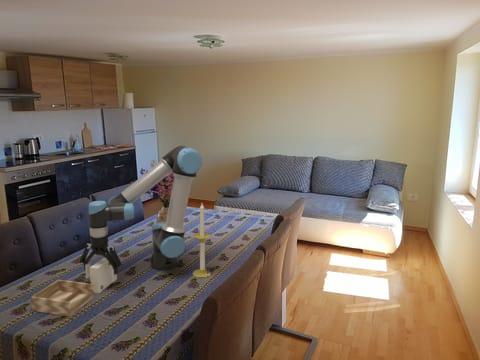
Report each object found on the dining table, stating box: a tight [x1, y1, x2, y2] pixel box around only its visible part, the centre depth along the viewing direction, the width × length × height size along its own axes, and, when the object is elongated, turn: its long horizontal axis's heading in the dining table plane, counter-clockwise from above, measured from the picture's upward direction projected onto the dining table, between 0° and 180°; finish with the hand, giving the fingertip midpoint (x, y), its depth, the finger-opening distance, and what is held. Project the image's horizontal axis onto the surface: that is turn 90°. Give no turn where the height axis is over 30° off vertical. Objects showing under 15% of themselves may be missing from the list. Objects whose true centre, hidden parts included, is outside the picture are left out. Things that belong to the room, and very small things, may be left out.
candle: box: [192, 203, 211, 278], centre depth 182 cm, size 10×10×38 cm
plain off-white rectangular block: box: [89, 257, 114, 294], centre depth 169 cm, size 4×11×12 cm, turn 167°
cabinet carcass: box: [30, 279, 95, 317], centre depth 155 cm, size 18×16×6 cm
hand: (101, 278), depth 170 cm, fingers open, 13 cm apart
